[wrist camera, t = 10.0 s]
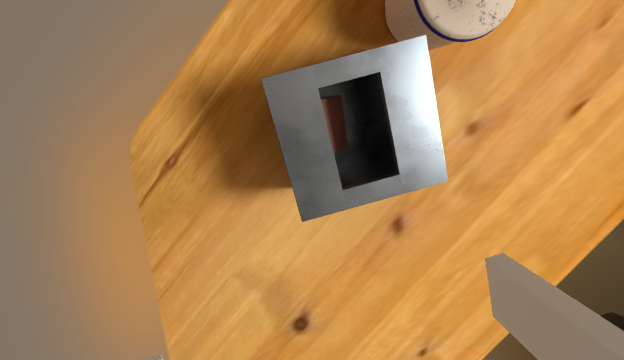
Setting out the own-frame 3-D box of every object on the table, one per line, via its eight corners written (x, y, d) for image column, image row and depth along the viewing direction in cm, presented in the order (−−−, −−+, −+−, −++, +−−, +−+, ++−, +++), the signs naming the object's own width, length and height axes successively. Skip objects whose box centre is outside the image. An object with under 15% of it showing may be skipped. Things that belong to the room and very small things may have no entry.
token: (329, 147, 37) (297, 162, 32) (322, 98, 36) (287, 105, 31) (348, 147, 36) (317, 161, 31) (341, 95, 34) (307, 102, 30)
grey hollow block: (295, 187, 39) (302, 221, 28) (266, 83, 35) (261, 78, 25) (402, 157, 39) (448, 181, 28) (382, 52, 36) (425, 34, 25)
